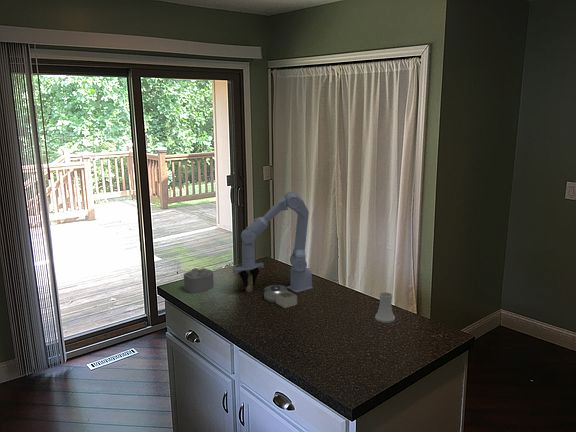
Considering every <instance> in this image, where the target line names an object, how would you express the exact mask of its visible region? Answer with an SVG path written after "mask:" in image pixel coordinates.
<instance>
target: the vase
mask: <svg viewBox="0 0 576 432" xmlns="http://www.w3.org/2000/svg"><path fill="white" fill-rule="evenodd" d="M392 300H393V294H392V293H391V292H380V293H379V306H378V308H377V309H378V310H377V313H376V314H375V316H374V319H375V320H376V321H377V322H379V323H383V324H389V323H390V324H391V323H393V322H395V321H396V316H395V315H394V312H393V307H392V306H393V305H392Z"/></svg>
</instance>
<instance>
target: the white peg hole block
mask: <svg viewBox="0 0 576 432" xmlns="http://www.w3.org/2000/svg"><path fill="white" fill-rule="evenodd" d="M263 296H264V298H263V299H264V300H265V301H266V302H268V303H275V304H276V305H278V306H280V307H281V308H283V309H288V308H289V307H293V306H297V305H298V295H297V294H295V293H294V292H291V291H290V290H288V288H287V286H285V285H281V284H275V285H274V284H272V285H268V286H266V287H264V289H263Z"/></svg>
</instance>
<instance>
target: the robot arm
mask: <svg viewBox="0 0 576 432" xmlns="http://www.w3.org/2000/svg"><path fill="white" fill-rule="evenodd" d="M289 209H290V210H292V211H294V212H295V213H296V214H297V215H296V224H295V225H296V226H295V238H294V246H293V249H292V254H291V255H290V257H289V261H290V264H291V267H290V269H289V270H290V285H287V286H286V288H287V289H289V290H290V291H293V292H295V293H299V292H304V291H306V290H311V289H314V286H313V275H312V271H311V269H310V268H309V267H308V263H307V260H306V258H307V257H306V256H307V255H306V242H307V235H308V223H309V213H310V212H309V209H308V207H307V205H306V203H305V202H304V200H303V199H302V198H301V197H300V196H299V195H298V194H297V193H296V192H294V191H289V192H286V193H285V195H283V196H281V198H279V199H278V200H277V202H276V203H275V204H274V205H273V206H272V207H270V209H269V210H268V211H267V212H266V213H265V214H264V215H263V216H259V217H257V218H253V222H252V223H251V224H250V225H249V226H248V225H247V226H246V228H245V229H244V230H242V231H241V234H240V238H241V265H240V266H237V267H235V268H233V271H232V272H233V273H234V274H235V275H236V274H238V275H239V276H240V278H241V280H242V285H243V287H245V288H246V287H247V286H248V282H247V280H248V273H251V274H253V286H255V285H256V281H257V279H258V275H259V273H260V268H261V269H262V268H263V269H264V267H265V264H264V262H256V251H255V250H256V249H255V247H256V246H255V241H256V238H257V237H258V236H260V235H261V234H262V233H263V232H264V231H265V230H266V229H267V228H268V226H269V222H270V221H271V220H272V219H274V218H275V217H276V216H277V215H278V214H279V213H280V212H282V211H288V210H289ZM248 271H249V272H248Z"/></svg>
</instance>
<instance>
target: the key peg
mask: <svg viewBox="0 0 576 432" xmlns="http://www.w3.org/2000/svg"><path fill="white" fill-rule="evenodd" d="M247 273H248V280H247V282H248V286H247V287H245V293H252V292H253V291H254V285H253V274H251V273H250V272H247Z"/></svg>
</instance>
